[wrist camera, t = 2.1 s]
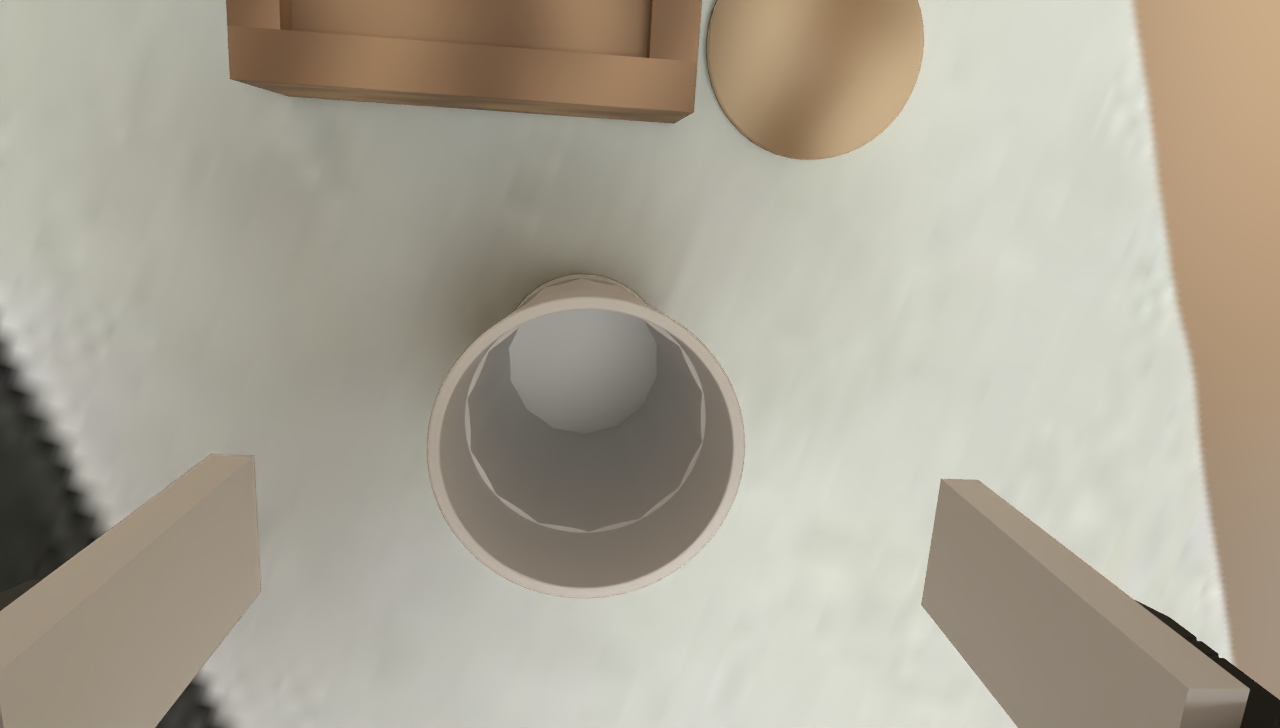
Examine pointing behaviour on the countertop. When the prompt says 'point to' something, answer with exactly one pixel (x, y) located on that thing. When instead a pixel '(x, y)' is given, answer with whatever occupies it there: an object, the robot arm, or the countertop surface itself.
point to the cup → (585, 442)
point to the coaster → (814, 70)
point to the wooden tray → (476, 53)
